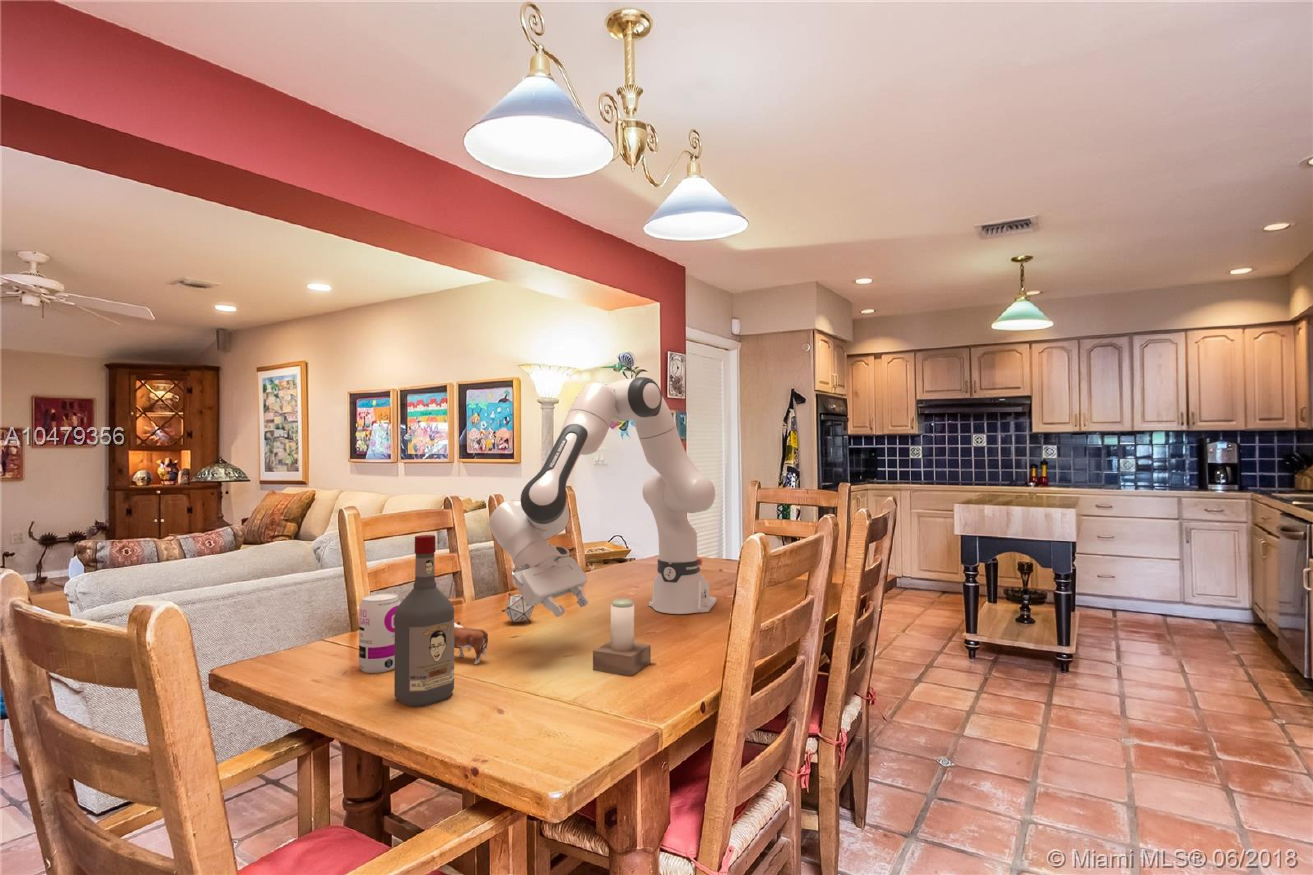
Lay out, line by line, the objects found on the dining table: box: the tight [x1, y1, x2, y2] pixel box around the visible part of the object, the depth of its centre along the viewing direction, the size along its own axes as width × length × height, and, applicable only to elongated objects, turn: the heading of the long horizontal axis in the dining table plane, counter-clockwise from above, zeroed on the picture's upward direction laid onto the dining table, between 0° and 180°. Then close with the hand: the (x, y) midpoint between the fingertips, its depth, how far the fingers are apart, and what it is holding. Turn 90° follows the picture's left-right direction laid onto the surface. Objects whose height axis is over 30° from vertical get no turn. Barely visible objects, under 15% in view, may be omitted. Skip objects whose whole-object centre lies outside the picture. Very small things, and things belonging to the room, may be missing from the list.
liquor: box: [393, 534, 455, 707], centre depth 124 cm, size 9×9×30 cm
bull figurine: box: [454, 621, 489, 665], centre depth 145 cm, size 4×13×8 cm, turn 59°
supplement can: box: [358, 592, 402, 674], centre depth 140 cm, size 8×8×15 cm
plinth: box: [592, 640, 652, 677], centre depth 140 cm, size 9×9×4 cm
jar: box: [610, 598, 635, 651], centre depth 140 cm, size 5×5×10 cm
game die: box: [501, 592, 537, 626], centre depth 176 cm, size 9×8×10 cm
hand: (573, 609), depth 146 cm, fingers open, 8 cm apart
